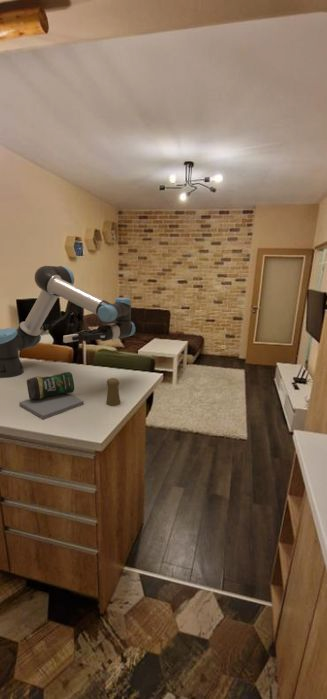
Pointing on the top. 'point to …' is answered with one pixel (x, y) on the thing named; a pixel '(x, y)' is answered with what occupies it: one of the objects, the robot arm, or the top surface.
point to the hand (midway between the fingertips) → (64, 339)
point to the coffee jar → (50, 385)
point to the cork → (113, 392)
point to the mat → (51, 405)
